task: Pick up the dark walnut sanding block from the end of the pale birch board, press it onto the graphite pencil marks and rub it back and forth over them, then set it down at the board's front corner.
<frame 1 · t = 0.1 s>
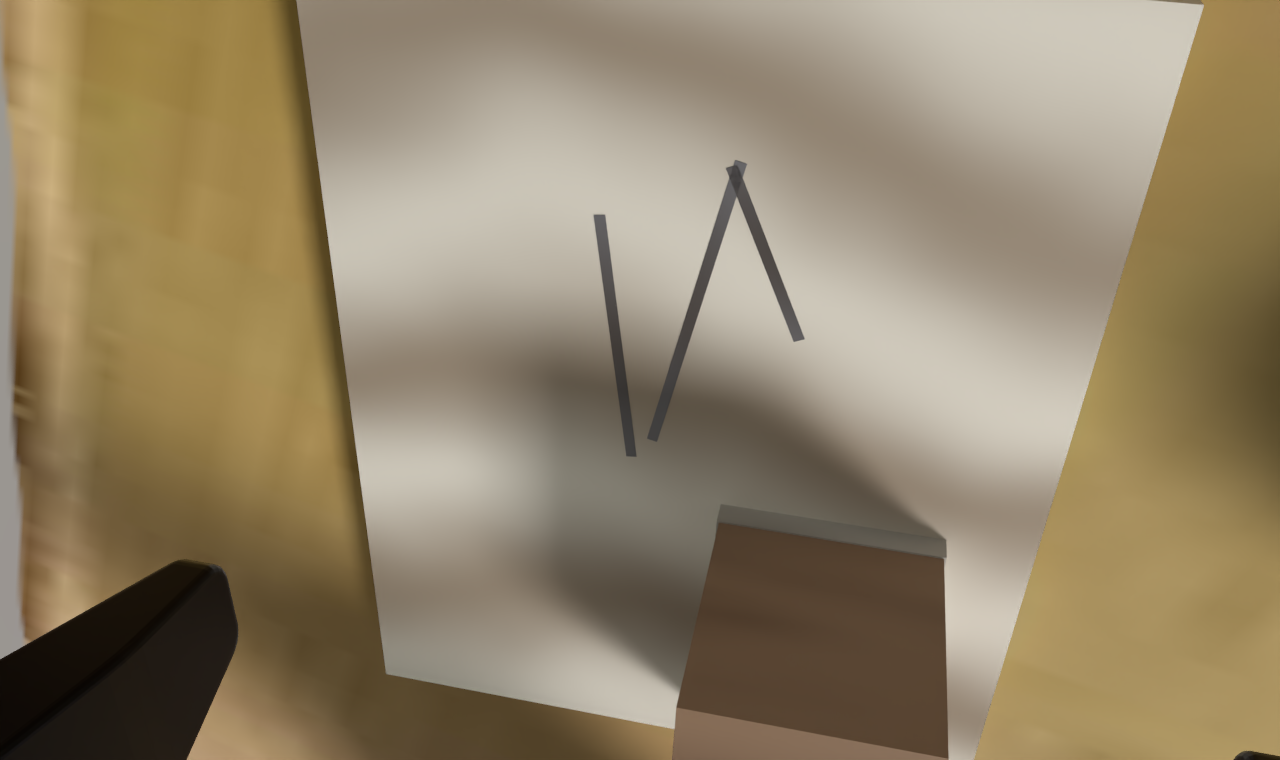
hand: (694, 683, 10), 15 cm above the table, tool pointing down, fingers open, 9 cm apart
birch board: (693, 399, 26), on the table
sanding block: (813, 632, 28), point 1 cm above the table, touching birch board
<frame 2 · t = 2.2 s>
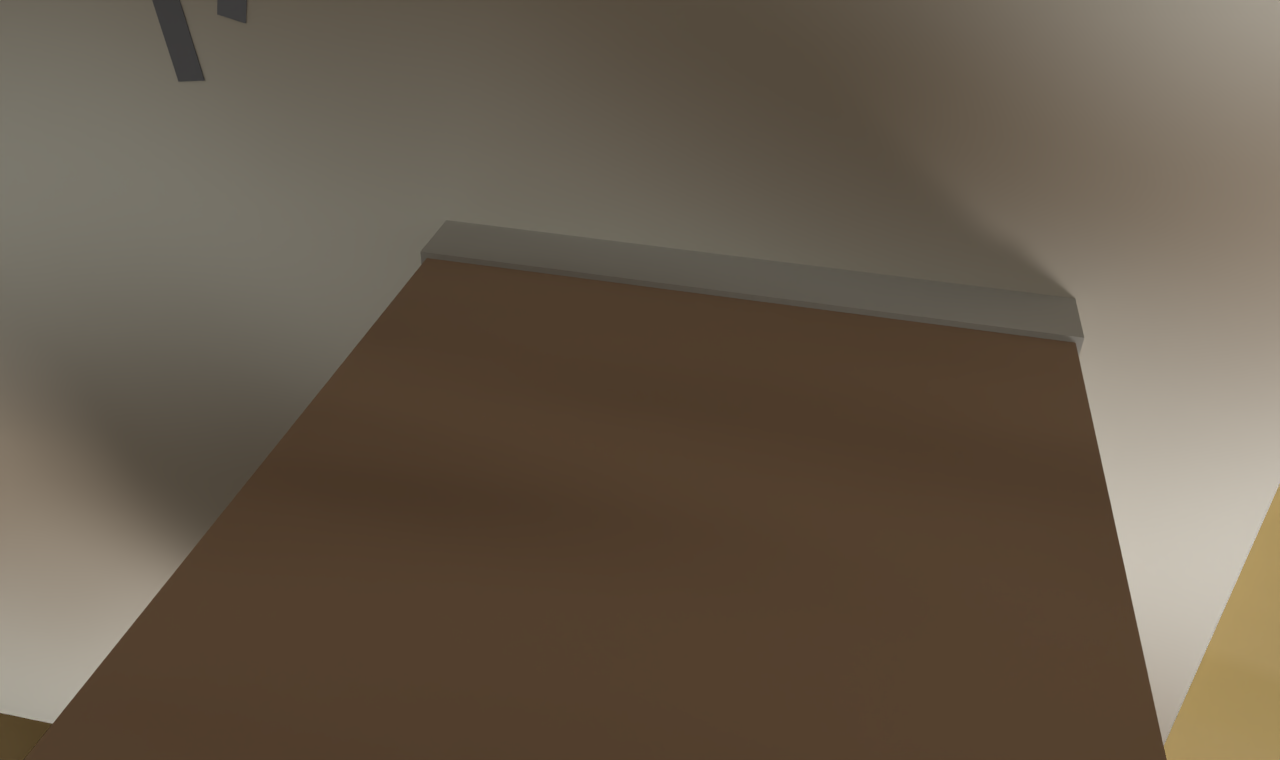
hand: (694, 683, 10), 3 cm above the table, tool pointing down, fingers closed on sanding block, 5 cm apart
sanding block: (716, 580, 11), point 1 cm above the table, touching birch board, gripper
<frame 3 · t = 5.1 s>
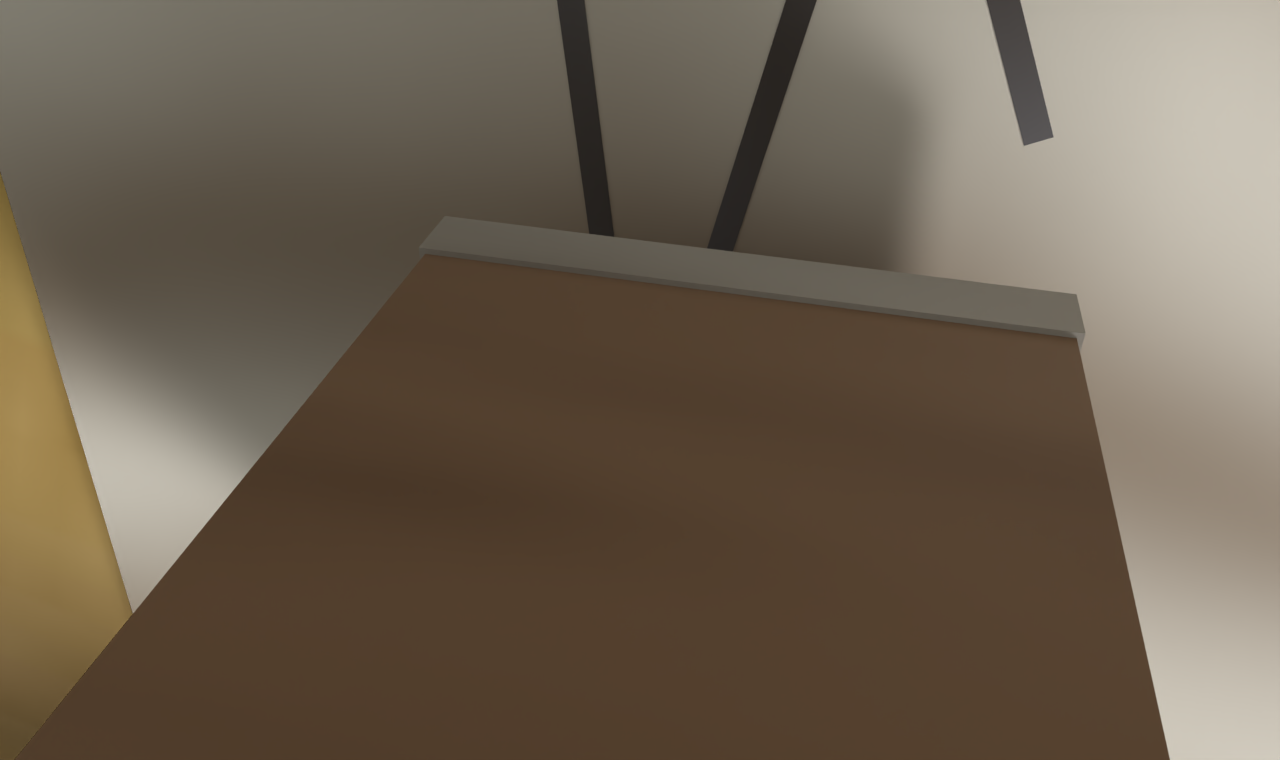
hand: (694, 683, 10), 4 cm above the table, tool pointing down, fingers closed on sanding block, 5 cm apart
birch board: (759, 312, 12), on the table
sanding block: (716, 578, 11), point 3 cm above the table, touching gripper
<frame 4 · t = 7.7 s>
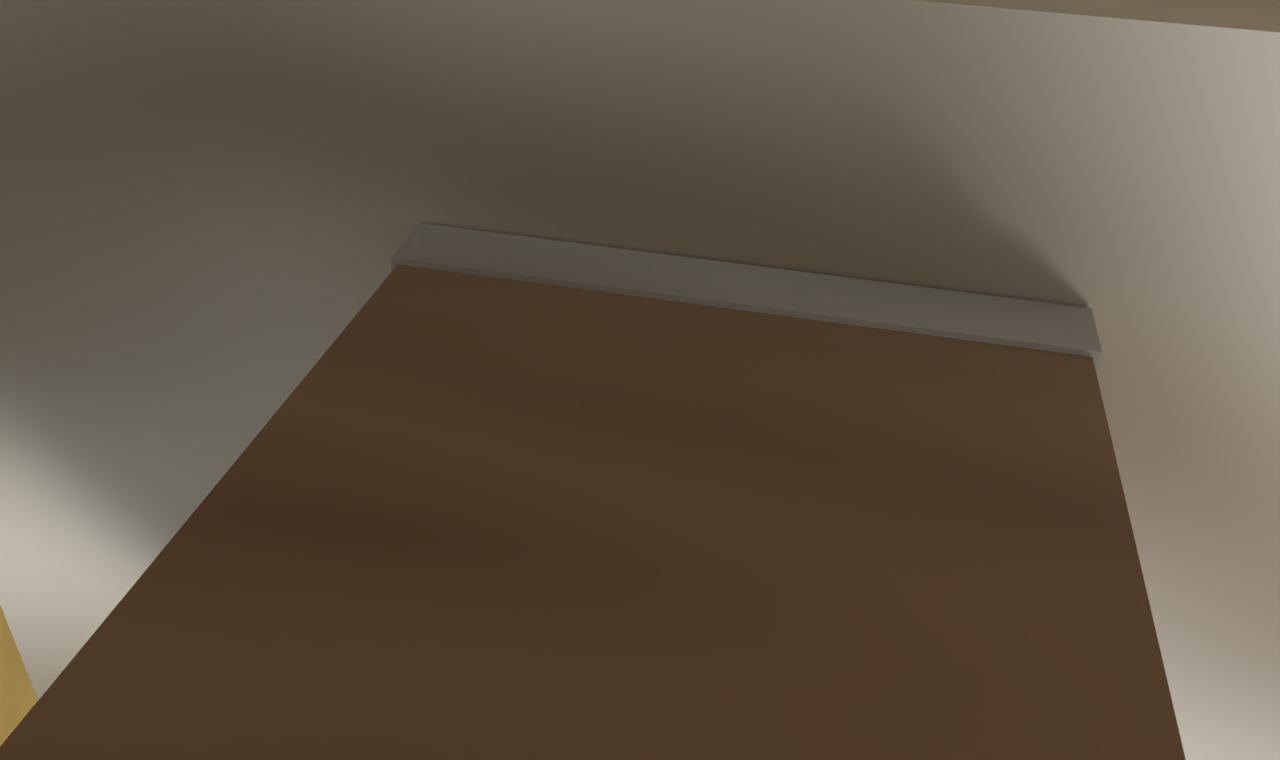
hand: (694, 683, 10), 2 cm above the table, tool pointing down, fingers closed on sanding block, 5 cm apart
sanding block: (708, 601, 11), point 1 cm above the table, touching birch board, gripper
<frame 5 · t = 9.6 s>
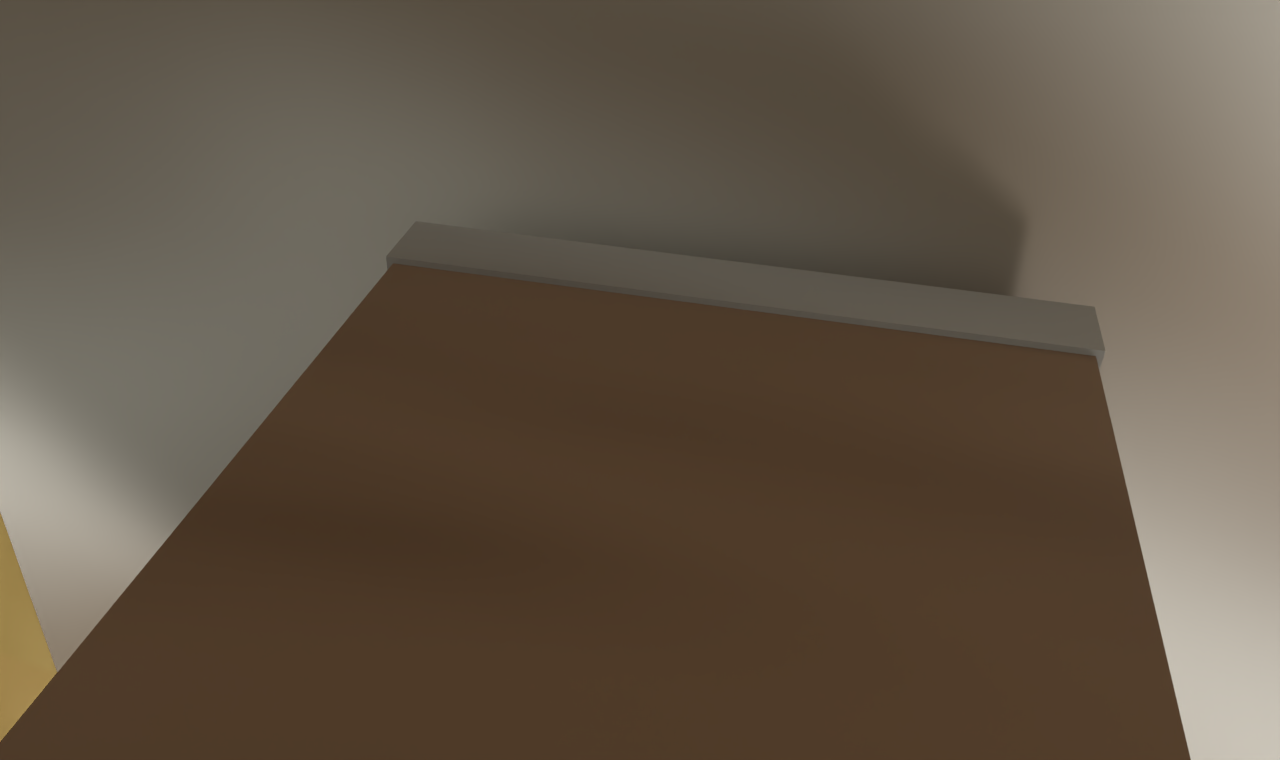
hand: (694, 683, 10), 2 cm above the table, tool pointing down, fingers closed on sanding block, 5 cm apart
birch board: (713, 706, 14), on the table
sanding block: (708, 601, 10), point 2 cm above the table, touching gripper
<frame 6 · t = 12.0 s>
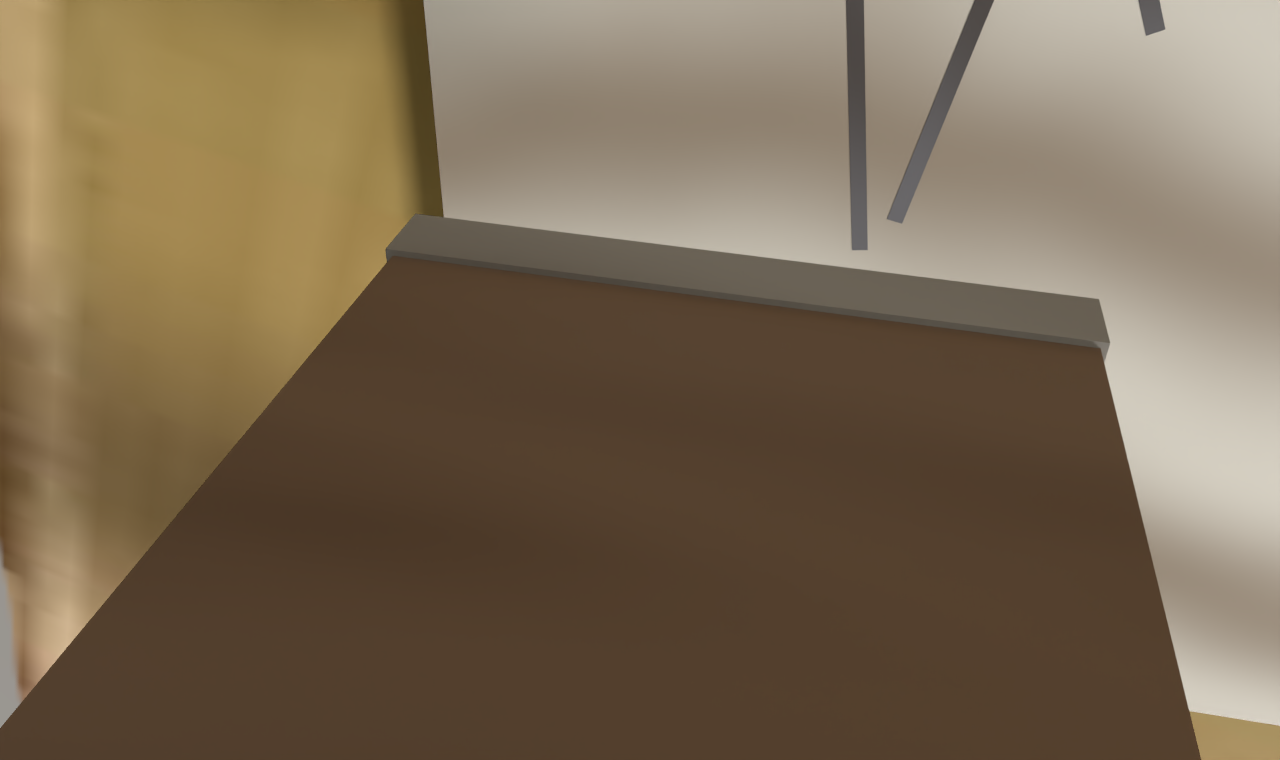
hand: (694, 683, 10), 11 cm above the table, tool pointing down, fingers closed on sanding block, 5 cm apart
birch board: (946, 168, 18), on the table
sanding block: (709, 597, 10), point 10 cm above the table, touching gripper
when the fingers open (3 cm above the table, at t = 14.2 s): sanding block drops 2 cm, resting on birch board.
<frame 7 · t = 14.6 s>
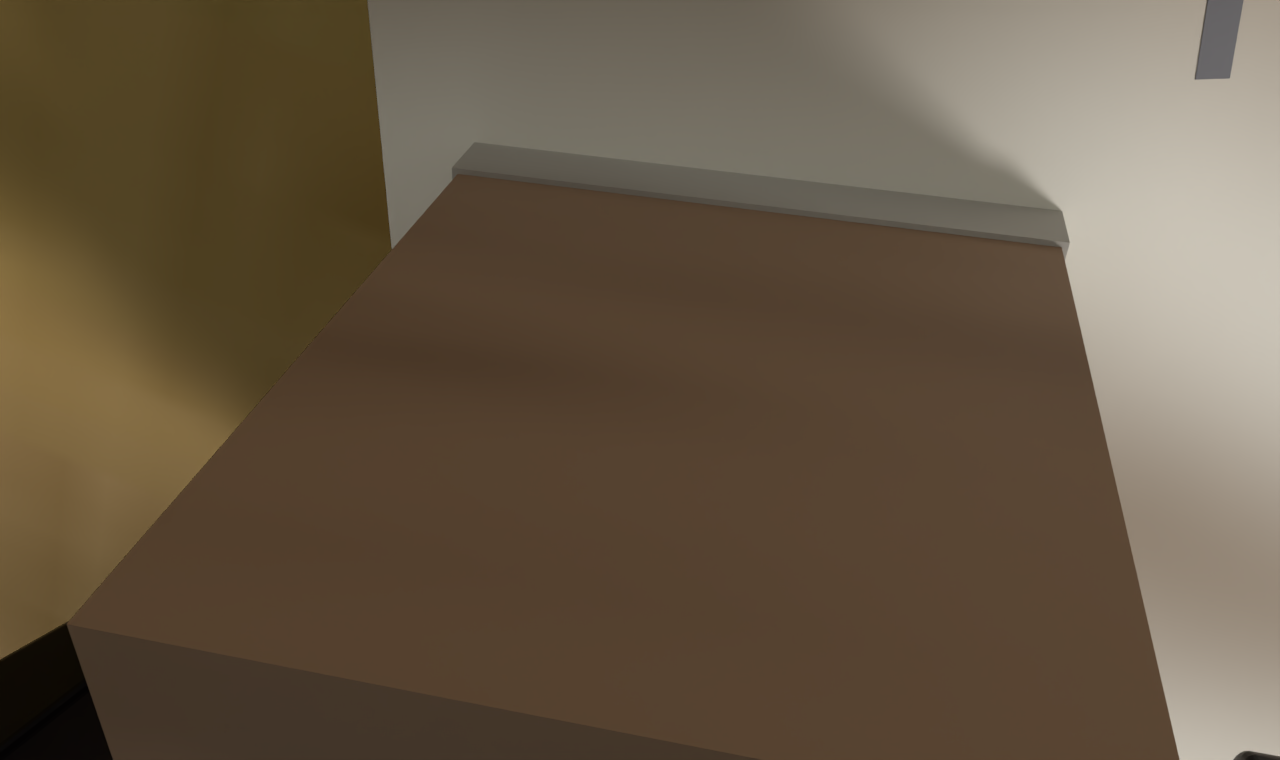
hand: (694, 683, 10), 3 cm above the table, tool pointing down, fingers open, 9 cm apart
sanding block: (724, 494, 12), point 1 cm above the table, touching birch board
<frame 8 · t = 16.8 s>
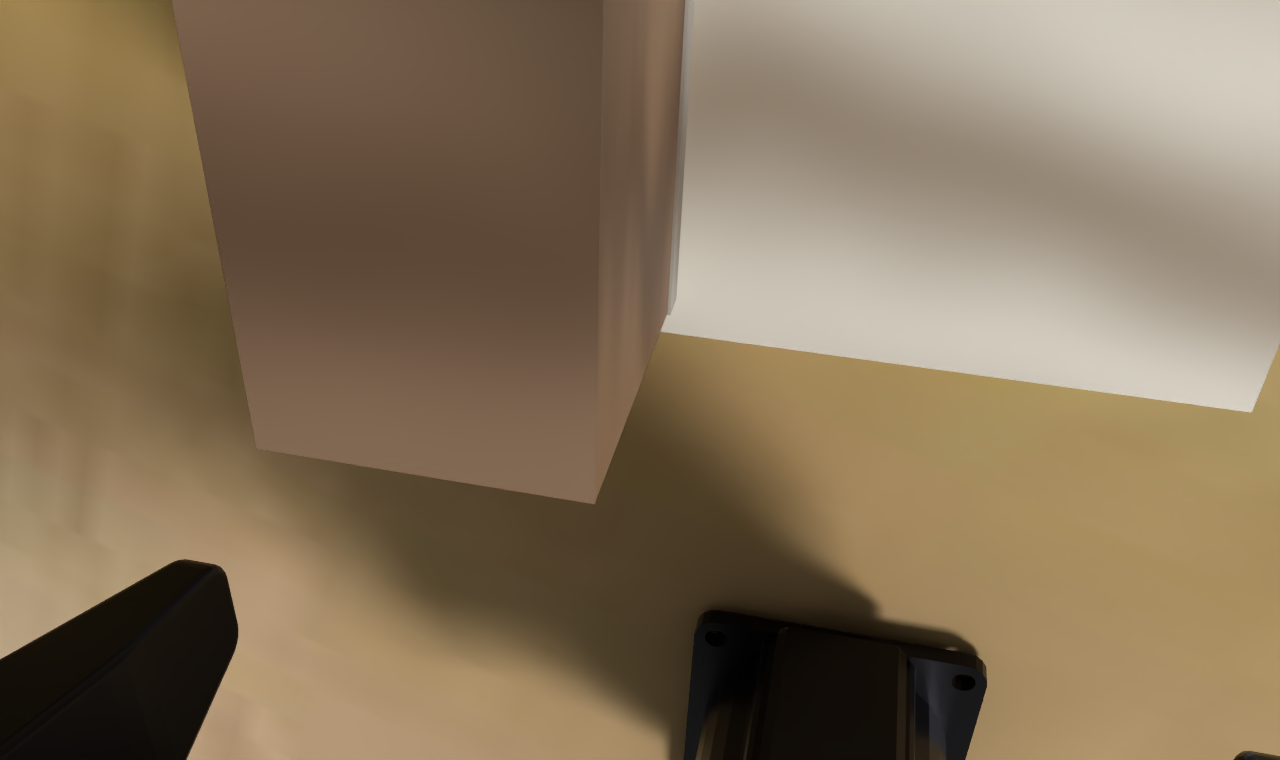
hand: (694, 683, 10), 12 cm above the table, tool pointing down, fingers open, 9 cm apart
sanding block: (537, 93, 19), point 1 cm above the table, touching birch board
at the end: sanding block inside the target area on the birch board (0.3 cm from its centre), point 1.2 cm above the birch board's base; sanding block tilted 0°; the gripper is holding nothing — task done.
